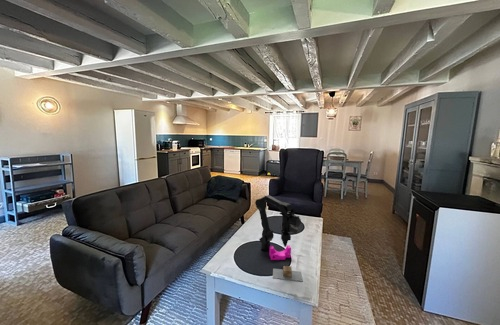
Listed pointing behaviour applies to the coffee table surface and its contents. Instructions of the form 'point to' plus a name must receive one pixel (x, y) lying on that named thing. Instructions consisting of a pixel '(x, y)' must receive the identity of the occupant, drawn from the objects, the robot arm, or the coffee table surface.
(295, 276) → the pad
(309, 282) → the coffee table surface
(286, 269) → the walnut block
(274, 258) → the toy block
